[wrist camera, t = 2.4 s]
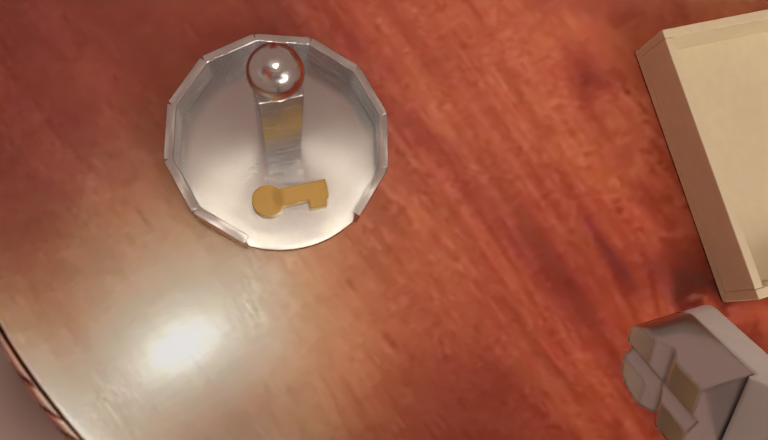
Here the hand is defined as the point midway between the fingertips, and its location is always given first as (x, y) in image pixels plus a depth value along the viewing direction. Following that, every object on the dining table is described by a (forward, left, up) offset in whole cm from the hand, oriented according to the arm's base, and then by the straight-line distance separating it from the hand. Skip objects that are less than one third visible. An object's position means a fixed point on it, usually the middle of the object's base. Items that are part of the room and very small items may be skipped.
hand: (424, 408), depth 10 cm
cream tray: (+5, -32, -23) cm, 40 cm away
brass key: (+9, 0, -23) cm, 25 cm away
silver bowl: (+12, 0, -23) cm, 26 cm away
